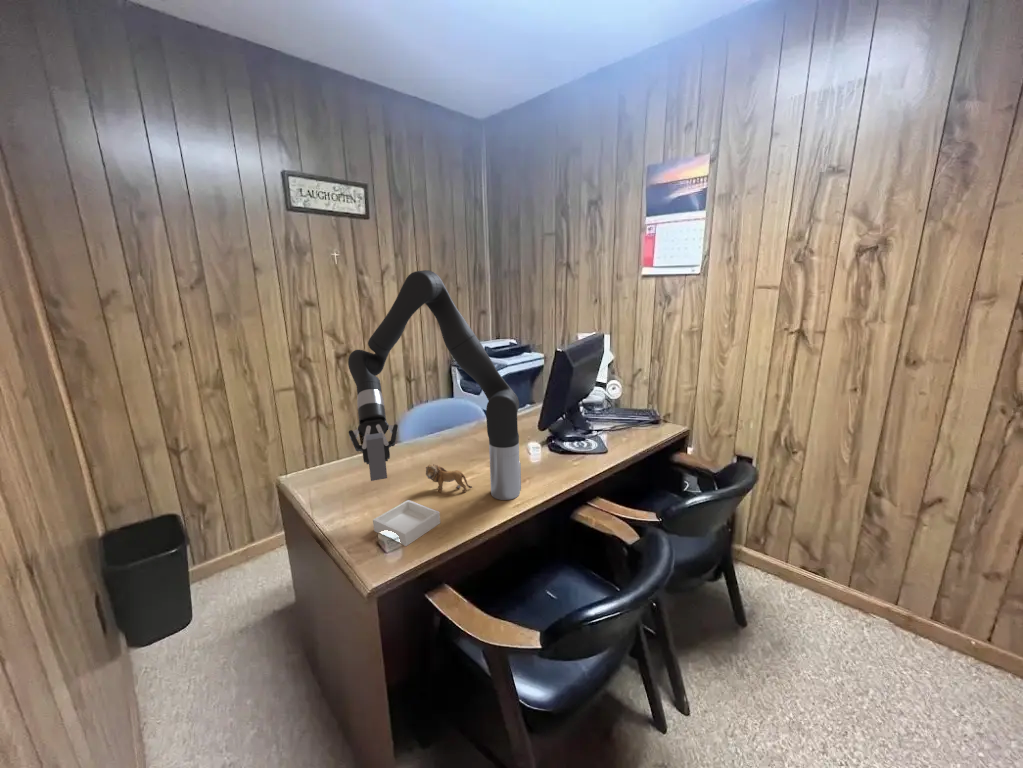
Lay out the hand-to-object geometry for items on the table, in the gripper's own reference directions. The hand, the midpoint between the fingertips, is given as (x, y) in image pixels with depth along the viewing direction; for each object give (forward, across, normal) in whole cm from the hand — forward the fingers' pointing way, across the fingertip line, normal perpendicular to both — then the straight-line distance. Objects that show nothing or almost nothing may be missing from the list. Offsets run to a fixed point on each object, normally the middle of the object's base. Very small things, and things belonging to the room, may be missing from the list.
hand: (377, 461), depth 116 cm
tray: (+17, +6, +8) cm, 20 cm away
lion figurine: (+6, +21, +20) cm, 29 cm away
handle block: (+2, 0, +5) cm, 6 cm away
